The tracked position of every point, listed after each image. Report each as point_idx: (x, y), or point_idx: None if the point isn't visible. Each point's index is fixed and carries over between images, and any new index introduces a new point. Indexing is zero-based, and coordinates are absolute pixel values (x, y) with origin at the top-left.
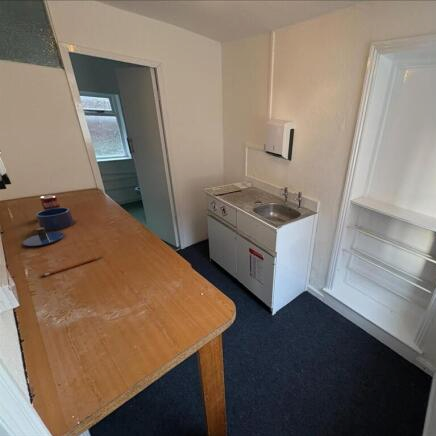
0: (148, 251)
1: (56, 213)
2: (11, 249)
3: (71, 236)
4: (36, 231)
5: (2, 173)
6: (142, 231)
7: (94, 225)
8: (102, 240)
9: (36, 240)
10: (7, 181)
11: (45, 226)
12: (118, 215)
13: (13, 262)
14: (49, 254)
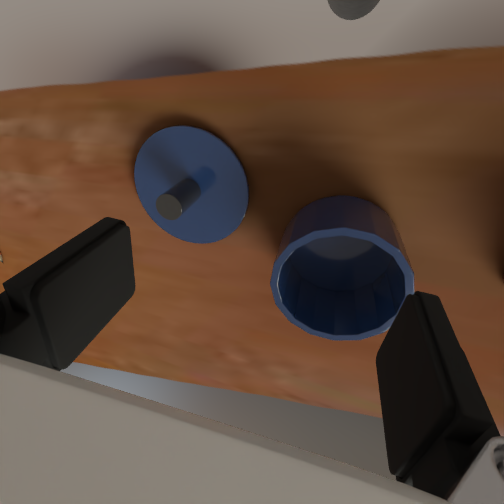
0: None
1: (394, 287)
2: (168, 82)
3: (180, 252)
4: (168, 191)
5: None
6: (117, 365)
7: (240, 320)
8: None
9: (182, 167)
10: (385, 379)
11: (299, 216)
12: (289, 387)
13: (49, 90)
14: (67, 181)
